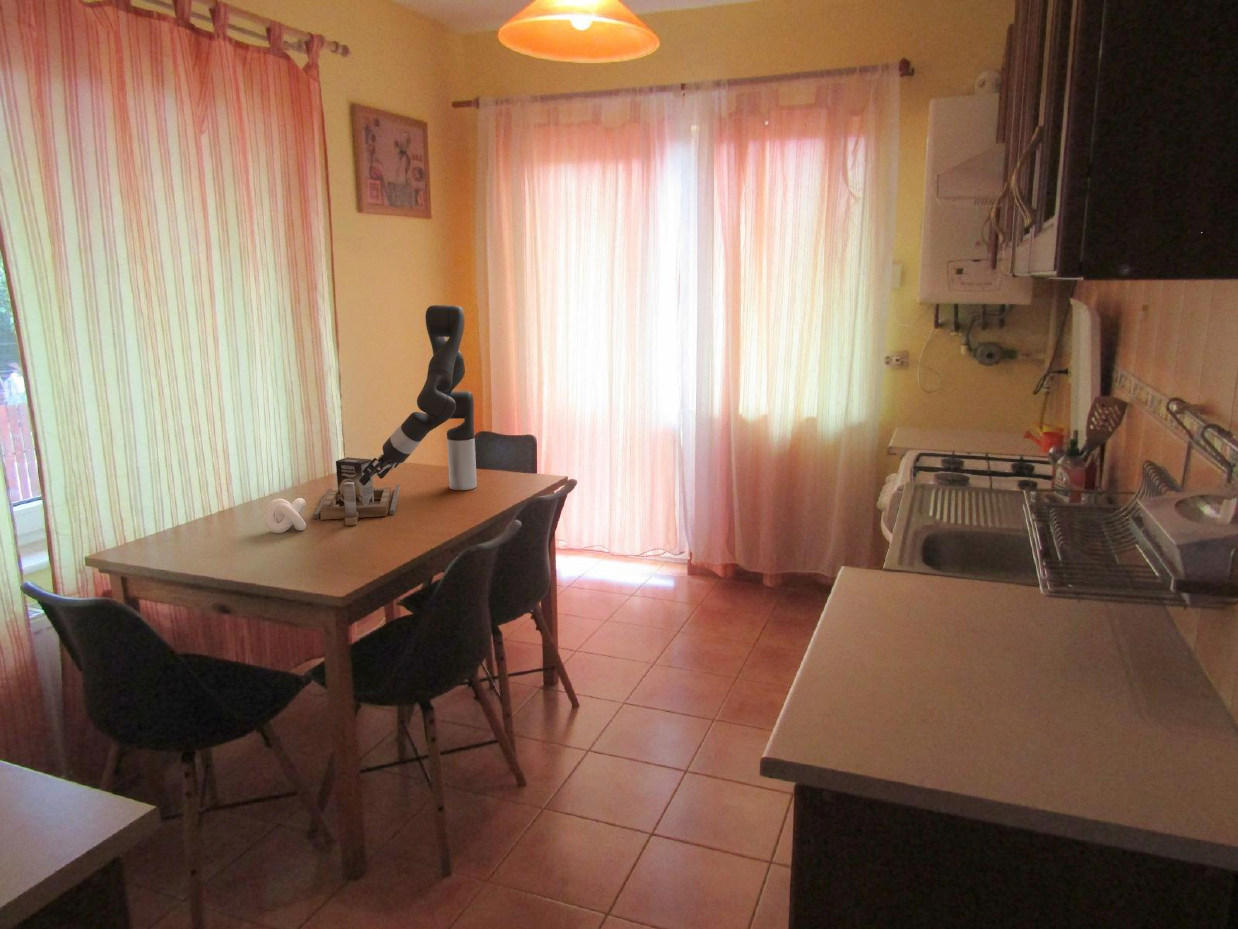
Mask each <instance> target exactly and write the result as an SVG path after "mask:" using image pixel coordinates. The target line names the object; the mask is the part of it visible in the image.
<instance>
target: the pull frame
mask: <svg viewBox="0 0 1238 929" xmlns="http://www.w3.org/2000/svg"><path fill="white" fill-rule="evenodd" d="M343 491H344V503H345V506H339V505H338V506H335V505H336V503H337V502H339V498H338V489H335V490H334V489H332V490H331V491H330V493H329V494H328V496H327V498H326V500H325V502H324V504H323V505H322V507H321V509H320V520H339V519H344V522H345V526H357V524H358V522H359V518H371V517H372V518H373V517H375V518H377V517H386V516H387V514H388V510H389V508H390V507H389V506H390V503H391V498H392V487H376V488H375V487H373V493H374V500H380V501H379V503H378V504H377V503H376V504H375V503H374V505H356V497H355V484H354V482H347V483H343Z"/></svg>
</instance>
